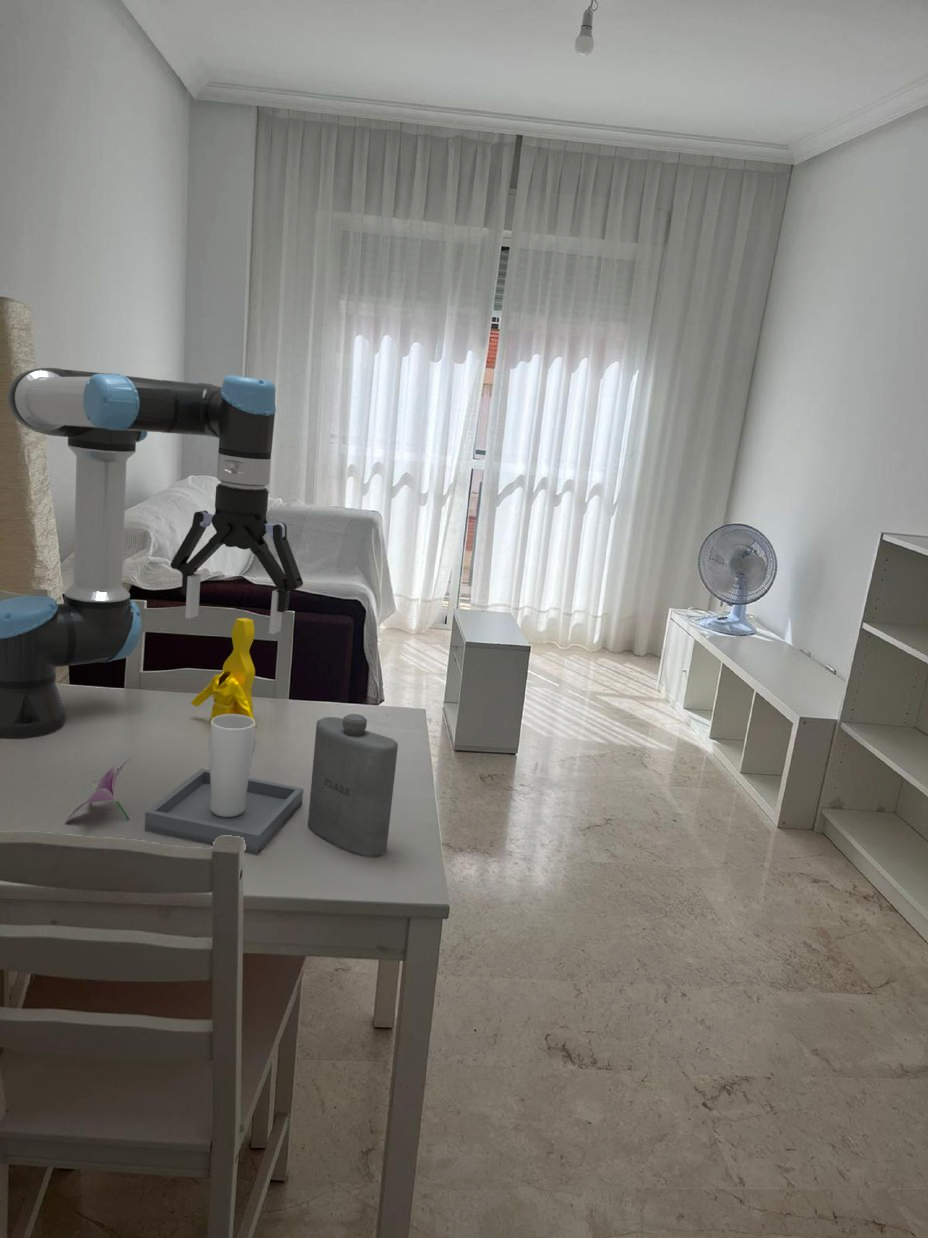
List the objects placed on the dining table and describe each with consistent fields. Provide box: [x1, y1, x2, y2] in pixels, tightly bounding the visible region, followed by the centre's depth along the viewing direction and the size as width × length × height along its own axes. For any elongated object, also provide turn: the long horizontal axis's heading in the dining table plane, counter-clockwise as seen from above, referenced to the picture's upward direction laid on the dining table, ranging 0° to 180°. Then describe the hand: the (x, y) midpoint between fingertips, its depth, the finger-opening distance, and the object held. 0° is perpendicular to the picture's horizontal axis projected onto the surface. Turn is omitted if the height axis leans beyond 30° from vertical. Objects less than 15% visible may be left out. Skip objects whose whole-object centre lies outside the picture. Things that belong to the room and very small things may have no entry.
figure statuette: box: [190, 617, 257, 729], centre depth 178 cm, size 18×8×22 cm, turn 57°
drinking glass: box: [208, 714, 256, 817], centre depth 142 cm, size 7×7×15 cm
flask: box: [307, 713, 399, 858], centre depth 140 cm, size 15×6×20 cm, turn 53°
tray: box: [144, 768, 304, 855], centre depth 144 cm, size 18×18×3 cm
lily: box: [64, 757, 131, 824], centre depth 139 cm, size 12×12×10 cm
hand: (233, 624), depth 140 cm, fingers open, 13 cm apart
